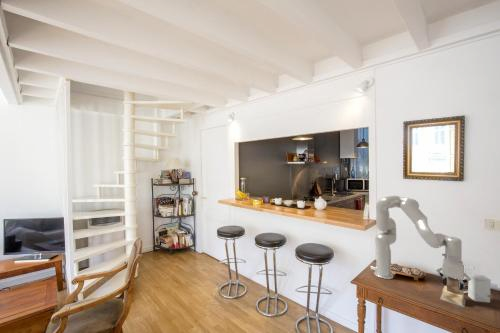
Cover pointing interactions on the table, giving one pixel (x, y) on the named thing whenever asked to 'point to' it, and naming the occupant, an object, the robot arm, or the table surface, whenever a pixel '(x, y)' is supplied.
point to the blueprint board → (455, 303)
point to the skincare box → (479, 288)
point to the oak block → (453, 296)
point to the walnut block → (452, 285)
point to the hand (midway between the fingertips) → (452, 286)
